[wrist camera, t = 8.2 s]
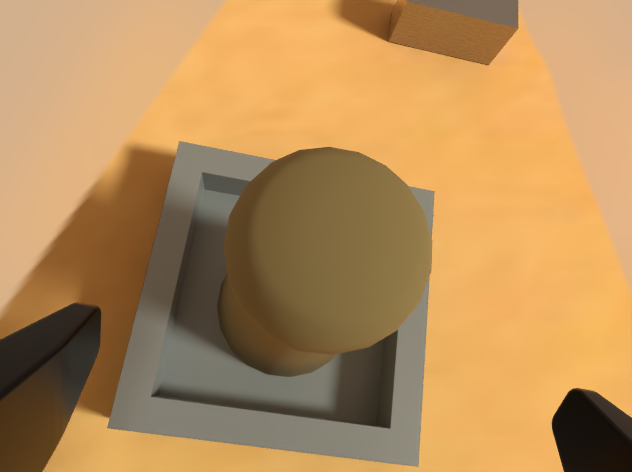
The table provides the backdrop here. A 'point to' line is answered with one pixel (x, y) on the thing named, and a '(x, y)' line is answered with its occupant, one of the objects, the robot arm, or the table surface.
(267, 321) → the cork
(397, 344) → the tray
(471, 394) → the table surface
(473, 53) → the bar
